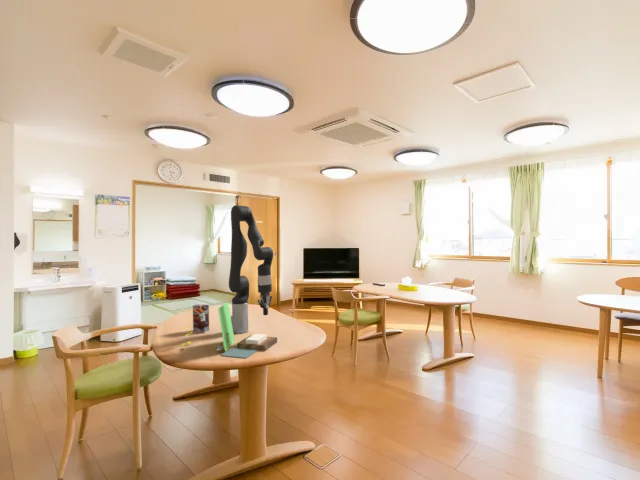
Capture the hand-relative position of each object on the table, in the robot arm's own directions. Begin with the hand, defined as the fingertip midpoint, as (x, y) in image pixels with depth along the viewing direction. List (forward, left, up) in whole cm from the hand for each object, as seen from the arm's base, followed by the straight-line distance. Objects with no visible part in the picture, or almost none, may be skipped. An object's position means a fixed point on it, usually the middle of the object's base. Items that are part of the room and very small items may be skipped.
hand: (265, 314), depth 182 cm
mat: (-3, -23, -14) cm, 27 cm away
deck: (0, -10, -14) cm, 17 cm away
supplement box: (-46, +5, -14) cm, 49 cm away
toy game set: (-25, -19, -14) cm, 34 cm away
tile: (0, -11, -11) cm, 15 cm away
